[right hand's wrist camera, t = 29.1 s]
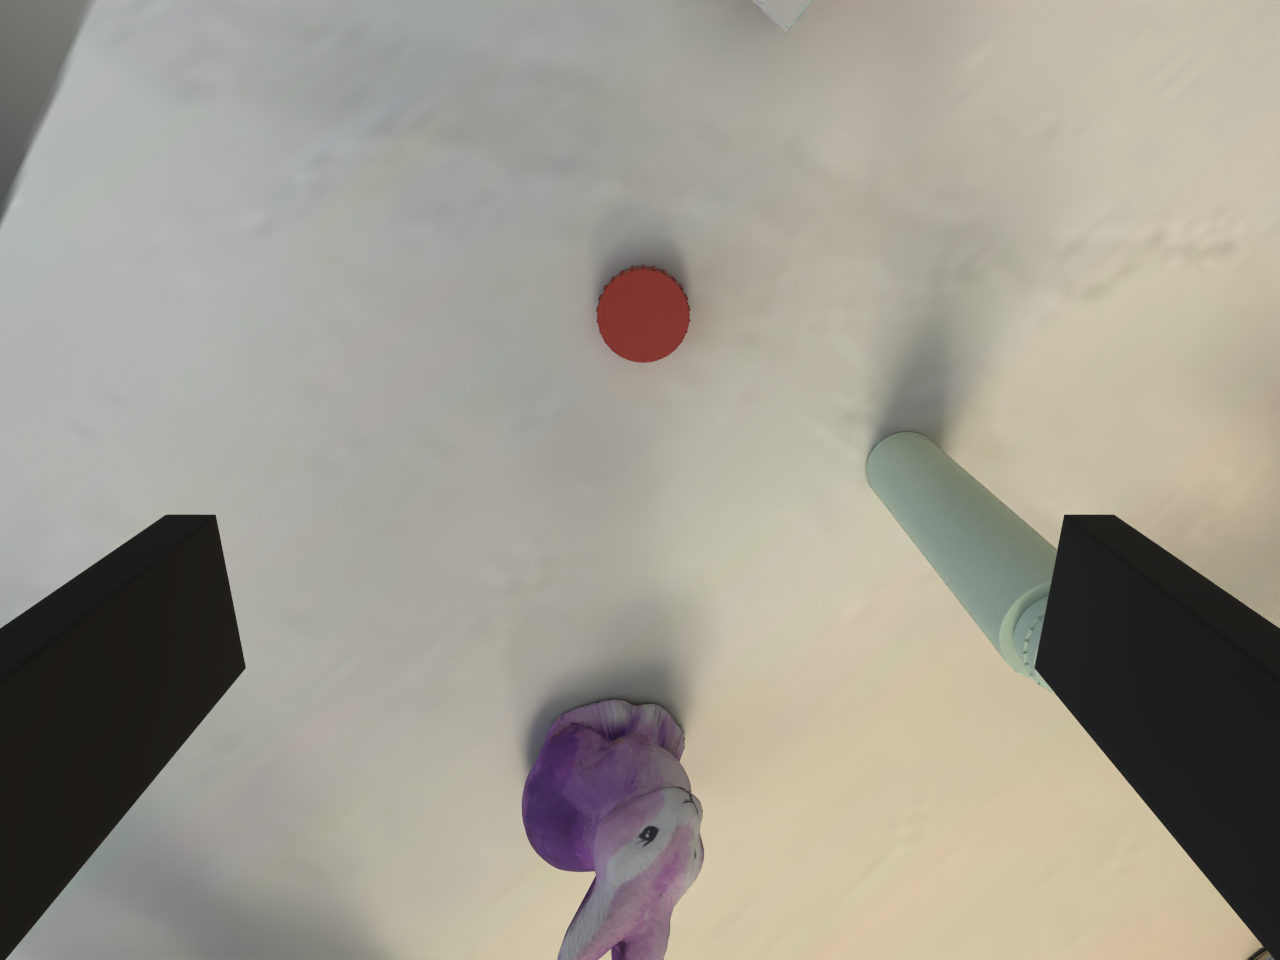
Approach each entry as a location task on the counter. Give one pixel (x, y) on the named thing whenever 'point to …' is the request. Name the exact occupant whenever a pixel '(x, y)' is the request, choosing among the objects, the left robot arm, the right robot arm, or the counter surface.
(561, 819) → the figurine
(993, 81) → the counter surface
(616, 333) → the lid
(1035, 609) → the bottle
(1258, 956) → the left robot arm
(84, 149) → the counter surface
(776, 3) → the toy
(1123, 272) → the counter surface
